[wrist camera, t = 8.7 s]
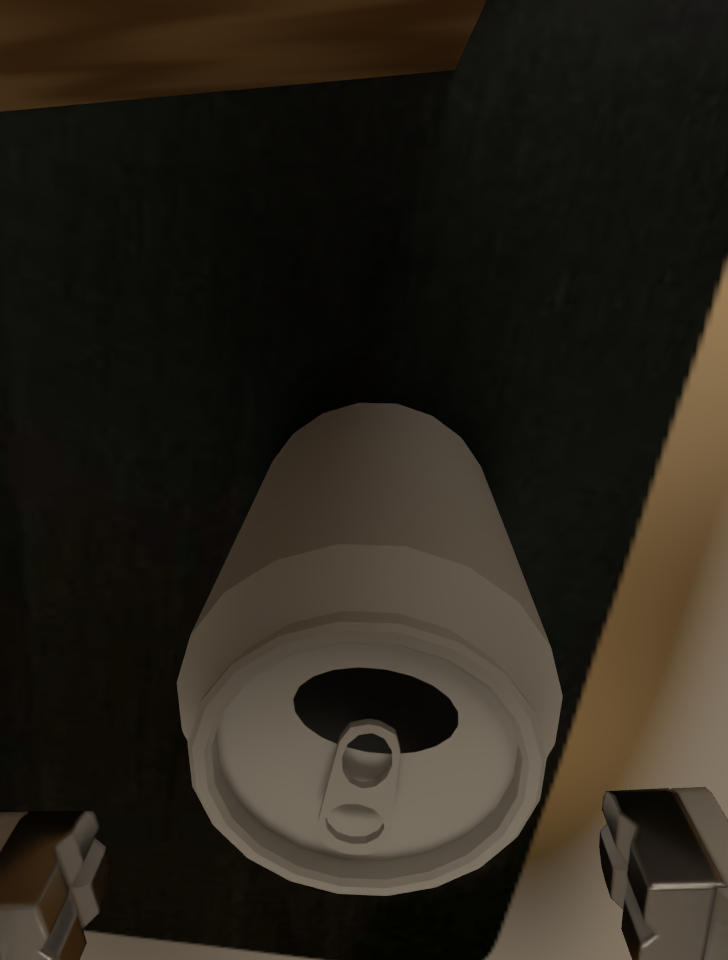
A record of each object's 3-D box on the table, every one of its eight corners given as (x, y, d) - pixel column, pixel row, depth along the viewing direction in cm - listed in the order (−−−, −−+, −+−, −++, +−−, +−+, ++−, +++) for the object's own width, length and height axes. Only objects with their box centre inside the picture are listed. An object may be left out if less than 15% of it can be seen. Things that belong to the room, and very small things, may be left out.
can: (510, 416, 21) (652, 640, 10) (458, 610, 24) (522, 956, 13) (281, 375, 21) (158, 558, 9) (255, 576, 23) (137, 899, 12)
